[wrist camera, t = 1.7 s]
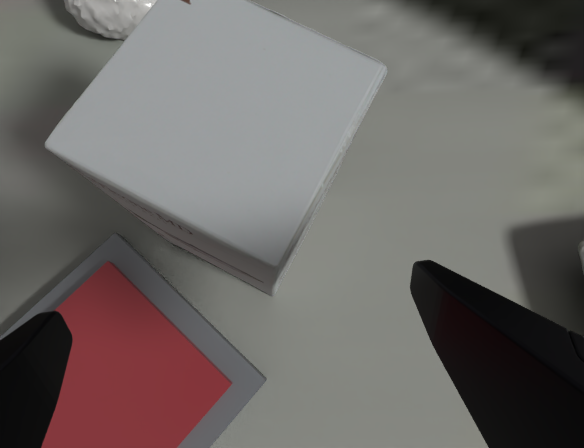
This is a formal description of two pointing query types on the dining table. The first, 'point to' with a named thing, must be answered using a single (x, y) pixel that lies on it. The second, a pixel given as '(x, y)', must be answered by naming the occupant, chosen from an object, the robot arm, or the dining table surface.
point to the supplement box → (221, 129)
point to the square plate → (581, 253)
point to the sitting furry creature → (109, 15)
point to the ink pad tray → (140, 360)
